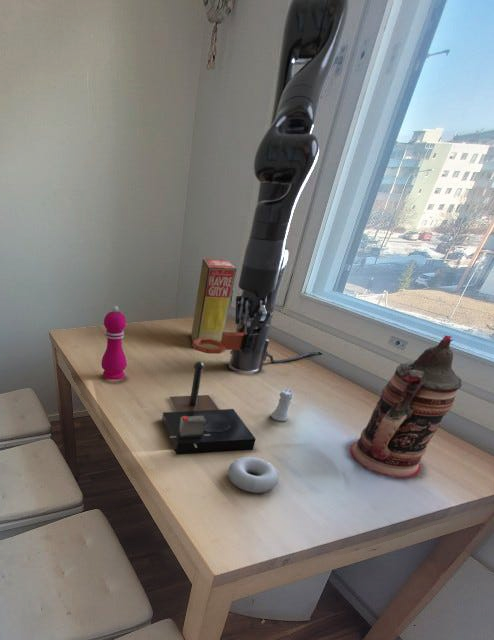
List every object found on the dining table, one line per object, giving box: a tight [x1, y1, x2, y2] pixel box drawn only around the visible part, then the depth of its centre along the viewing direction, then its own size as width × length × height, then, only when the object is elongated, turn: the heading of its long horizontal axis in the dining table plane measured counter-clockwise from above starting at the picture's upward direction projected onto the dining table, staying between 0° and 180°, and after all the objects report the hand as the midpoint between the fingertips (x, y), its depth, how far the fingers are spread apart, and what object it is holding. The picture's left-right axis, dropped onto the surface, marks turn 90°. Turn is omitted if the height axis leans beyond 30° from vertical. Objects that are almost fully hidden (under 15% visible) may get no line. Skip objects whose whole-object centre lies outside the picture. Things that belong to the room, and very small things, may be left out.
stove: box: [161, 408, 257, 456], centre depth 96 cm, size 19×16×3 cm
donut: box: [227, 456, 280, 494], centre depth 84 cm, size 10×3×10 cm
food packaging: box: [190, 258, 237, 348], centre depth 138 cm, size 13×9×25 cm
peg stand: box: [169, 360, 220, 412], centre depth 105 cm, size 11×10×12 cm
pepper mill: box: [100, 305, 128, 381], centre depth 115 cm, size 7×7×20 cm
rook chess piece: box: [270, 389, 295, 422], centre depth 102 cm, size 4×4×8 cm
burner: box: [194, 413, 230, 433], centre depth 97 cm, size 9×9×1 cm
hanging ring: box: [192, 331, 244, 355], centre depth 93 cm, size 13×7×3 cm, turn 99°
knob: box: [178, 416, 205, 439], centre depth 90 cm, size 5×2×5 cm, turn 99°
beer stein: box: [349, 335, 463, 480], centre depth 85 cm, size 17×28×18 cm
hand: (242, 348), depth 95 cm, fingers closed on hanging ring, 2 cm apart
